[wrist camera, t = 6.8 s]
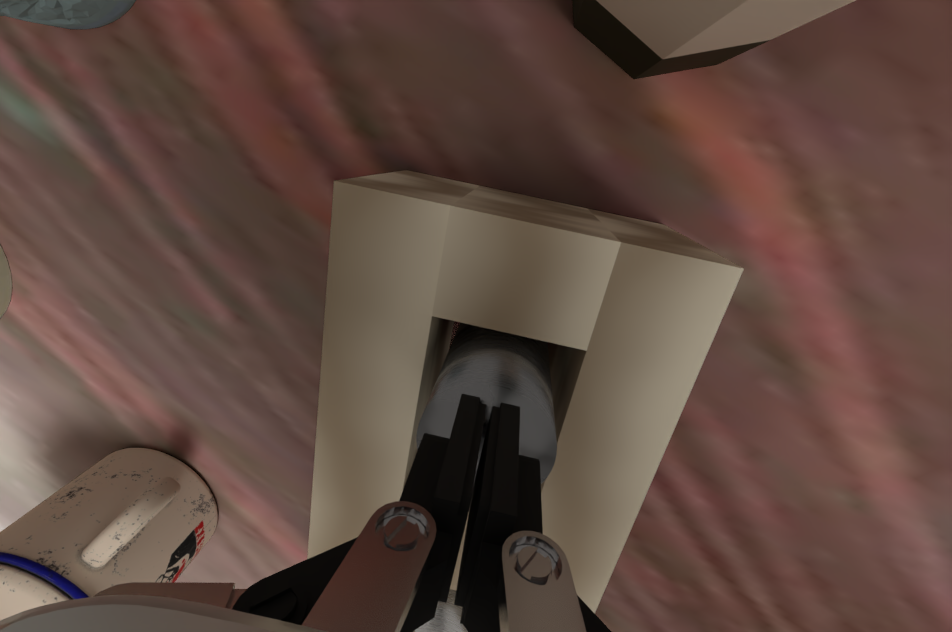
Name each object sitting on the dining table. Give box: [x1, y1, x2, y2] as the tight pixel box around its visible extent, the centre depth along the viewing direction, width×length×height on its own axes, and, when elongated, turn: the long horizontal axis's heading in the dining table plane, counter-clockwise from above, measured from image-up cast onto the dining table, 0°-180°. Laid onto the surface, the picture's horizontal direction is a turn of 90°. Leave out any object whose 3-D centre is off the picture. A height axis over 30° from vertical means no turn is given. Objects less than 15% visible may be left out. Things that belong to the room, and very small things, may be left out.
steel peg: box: [415, 589, 468, 632], centre depth 23 cm, size 4×4×8 cm
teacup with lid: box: [0, 448, 218, 621], centre depth 24 cm, size 12×9×12 cm
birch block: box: [307, 170, 744, 614], centre depth 21 cm, size 12×26×8 cm, turn 169°
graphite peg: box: [416, 322, 557, 484], centre depth 16 cm, size 4×4×8 cm
